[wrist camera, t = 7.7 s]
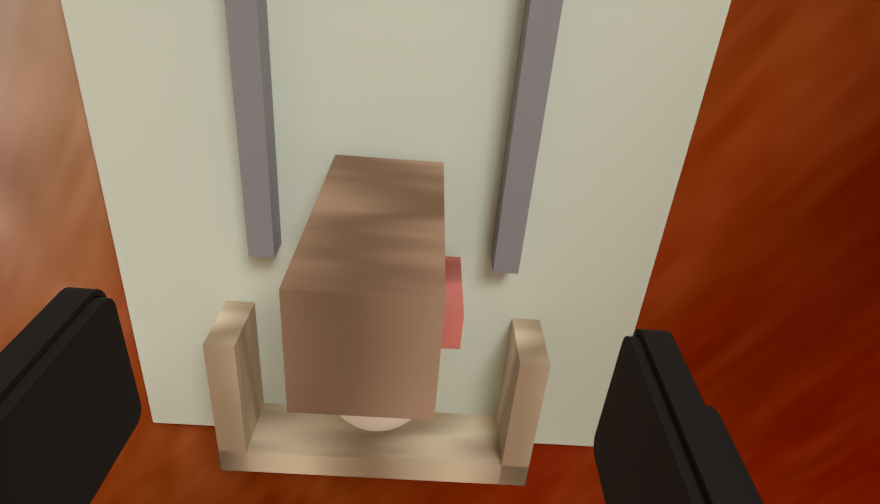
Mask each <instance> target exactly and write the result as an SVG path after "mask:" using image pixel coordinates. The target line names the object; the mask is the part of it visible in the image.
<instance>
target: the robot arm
mask: <svg viewBox="0 0 880 504" xmlns="http://www.w3.org/2000/svg"><path fill="white" fill-rule="evenodd" d="M140 414H141V403H140V399H139V395H138V391H137V387H136V383H135V379H134V375H133V371H132V367H131V364H130V360H129V356H128V352H127V348H126V344H125V340H124V336H123V332H122V328H121V325H120V321H119V317H118V313H117V309H116V305H115V303H114V301H113V300H112V299H110V298H107V297H106V295H105V293H104V292H103V291H102V290H99V289H85V288H72V287H68V288H64V289H63V290H62V291H60V292H59V293H58V294H57V295H56V296H55V297H54V298H53V299H52V300H51V301H50V302H49V303H48V304H47V305H46V306H45V308H44V309H43V310H42V311H41V312H40V313H39V314H38V315H37V316H36V317H35V318H34V319H33V320H32V321H31V322H30V323H29V324H28V325H27V326H26V327H25V328H24V329H23V330H22V331H21V332H20V333H19V334H18V335H17V336H16V337H15V338H14V339H13V340H12V341H11V342H10V343H9V344H8V345H7V346H6V347H5V348H4V349H3V350H2V351H1V353H0V504H90V503H91V501H92V499H93V498H94V496H95V494H96V493H97V491H98V489H99V488H100V486H101V484H102V483H103V481H104V479H105V478H106V476H107V474H108V473H109V471H110V469H111V467H112V466H113V464H114V462H115V461H116V459H117V457H118V456H119V454H120V452H121V451H122V449H123V447H124V446H125V444H126V442H127V441H128V439H129V437H130V436H131V434H132V432H133V430H134V429H135V427H136V425H137V423H138V421H139V418H140ZM594 456H595V461H596V465H597V469H598V473H599V477H600V482H601V486H602V490H603V494H604V498H605V503H606V504H763V502H762V500H761V498H760V496H759V494H758V492H757V490H756V488H755V486H754V484H753V481H752V479H751V477H750V475H749V473H748V471H747V469H746V467H745V465H744V463H743V461H742V459H741V457H740V455H739V453H738V451H737V449H736V447H735V445H734V443H733V441H732V439H731V437H730V435H729V433H728V431H727V429H726V427H725V425H724V423H723V421H722V419H721V417H720V415H719V414H718V412H717V411H716V410H715V409H714V408H713V407H711V406H706V405H705V403H704V401H703V399H702V397H701V395H700V393H699V391H698V389H697V386H696V384H695V382H694V380H693V378H692V376H691V374H690V372H689V370H688V367H687V365H686V363H685V361H684V359H683V357H682V355H681V353H680V351H679V348H678V346H677V344H676V342H675V340H674V338H673V336H672V334H671V333H670V332H668V331H660V330H646V329H637V330H636V331H635V332H634V334H633V336H625V337H624V339H623V341H622V344H621V348H620V351H619V355H618V358H617V361H616V365H615V368H614V372H613V375H612V378H611V382H610V385H609V389H608V392H607V395H606V399H605V402H604V406H603V409H602V412H601V416H600V419H599V423H598V426H597V429H596V433H595V437H594Z"/></svg>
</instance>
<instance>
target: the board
mask: <svg viewBox="0 0 880 504" xmlns="http://www.w3.org/2000/svg"><path fill="white" fill-rule="evenodd" d="M61 3H62V8H63V12H64V17H65V21H66V26H67V31H68V35H69V40H70V44H71V49H72V53H73V58H74V63H75V67H76V72H77V76H78V81H79V85H80V90H81V95H82V99H83V104H84V108H85V113H86V117H87V122H88V127H89V131H90V136H91V140H92V145H93V149H94V154H95V159H96V163H97V168H98V172H99V177H100V181H101V186H102V191H103V195H104V200H105V204H106V209H107V213H108V218H109V223H110V227H111V232H112V236H113V241H114V245H115V250H116V255H117V259H118V264H119V268H120V273H121V277H122V282H123V287H124V291H125V296H126V300H127V305H128V309H129V314H130V319H131V323H132V328H133V332H134V337H135V341H136V346H137V350H138V355H139V360H140V364H141V369H142V373H143V378H144V382H145V387H146V392H147V396H148V401H149V405H150V410H151V414H152V419H153V422H154V423H172V424H191V425H209V426H215V425H214V418H213V412H212V405H211V398H210V392H209V385H208V378H207V372H206V365H205V358H204V352H203V343H204V341H205V339H206V337H207V335H208V334H209V332H210V330H211V328H212V326H213V324H214V322H215V321H216V319H217V317H218V315H219V313H220V311H221V310H222V308H223V306H224V304H225V302H226V301H242V302H255V311H256V322H257V332H258V343H259V354H260V365H261V376H262V387H263V398H264V403H276V404H287V403H286V388H285V373H284V358H283V343H282V328H281V313H280V298H279V288H280V285H281V283H282V281H283V278H284V276H285V274H286V271H287V269H288V266H289V264H290V262H291V259H292V257H293V254H294V252H295V250H296V247H297V245H298V243H299V240H300V238H301V235H302V233H303V231H304V228H305V226H306V223H307V221H308V219H309V216H310V214H311V212H312V209H313V207H314V204H315V202H316V200H317V197H318V195H319V192H320V190H321V188H322V185H323V183H324V180H325V178H326V176H327V173H328V171H329V169H330V166H331V164H332V161H333V159H334V157H335V155H348V156H362V157H376V158H390V159H404V160H418V161H432V162H444V213H445V256H451V257H461V272H462V289H463V306H464V320H463V328H462V337H461V346H460V349H445V348H441V354H440V364H439V374H438V385H437V395H436V405H435V412H437V413H455V414H473V415H491V416H496V413H497V407H498V401H499V395H500V389H501V383H502V377H503V371H504V365H505V359H506V353H507V347H508V341H509V335H510V329H511V323H512V318H516V319H532V320H540V324H541V328H542V332H543V336H544V340H545V344H546V349H547V353H548V357H549V361H550V365H551V366H550V370H549V375H548V380H547V384H546V389H545V394H544V398H543V403H542V407H541V412H540V417H539V421H538V426H537V431H536V435H535V440H534V443H540V444H559V445H577V446H594V437H595V433H596V429H597V426H598V423H599V419H600V416H601V412H602V409H603V406H604V402H605V399H606V395H607V392H608V389H609V385H610V382H611V378H612V375H613V372H614V368H615V365H616V361H617V358H618V355H619V351H620V348H621V344H622V341H623V339H624V337H625V336H633V334H634V330H635V327H636V323H637V320H638V317H639V313H640V310H641V306H642V303H643V300H644V296H645V293H646V289H647V286H648V282H649V279H650V276H651V272H652V269H653V265H654V262H655V259H656V255H657V252H658V248H659V245H660V242H661V238H662V235H663V231H664V228H665V225H666V221H667V218H668V214H669V211H670V207H671V204H672V201H673V197H674V194H675V190H676V187H677V184H678V180H679V177H680V173H681V170H682V167H683V163H684V160H685V156H686V153H687V150H688V146H689V143H690V139H691V136H692V133H693V129H694V126H695V122H696V119H697V115H698V112H699V109H700V105H701V102H702V98H703V95H704V92H705V88H706V85H707V81H708V78H709V75H710V71H711V68H712V64H713V61H714V58H715V54H716V51H717V47H718V44H719V40H720V37H721V34H722V30H723V27H724V23H725V20H726V17H727V13H728V10H729V6H730V3H731V0H61Z"/></svg>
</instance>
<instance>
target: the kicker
mask: <svg viewBox="0 0 880 504" xmlns="http://www.w3.org/2000/svg"><path fill="white" fill-rule="evenodd" d="M279 298H280V313H281V328H282V343H283V358H284V373H285V388H286V403H287V412H292V413H310V414H328V415H346V416H364V417H383V418H401V419H419V420H434V415H435V405H436V395H437V385H438V374H439V364H440V354H441V348H445V349H460V346H461V337H462V328H463V320H464V306H463V289H462V272H461V257H451V256H445V213H444V162H432V161H418V160H404V159H390V158H376V157H362V156H348V155H335V157H334V159H333V161H332V164H331V166H330V169H329V171H328V173H327V176H326V178H325V180H324V183H323V185H322V188H321V190H320V192H319V195H318V197H317V200H316V202H315V204H314V207H313V209H312V212H311V214H310V216H309V219H308V221H307V223H306V226H305V228H304V231H303V233H302V235H301V238H300V240H299V243H298V245H297V247H296V250H295V252H294V254H293V257H292V259H291V262H290V264H289V266H288V269H287V271H286V274H285V276H284V278H283V281H282V283H281V285H280V288H279Z"/></svg>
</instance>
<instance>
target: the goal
mask: <svg viewBox="0 0 880 504" xmlns="http://www.w3.org/2000/svg"><path fill="white" fill-rule="evenodd" d="M203 352H204V358H205V365H206V372H207V378H208V385H209V392H210V398H211V405H212V412H213V418H214V425H215V431H216V438H217V445H218V451H219V458H220V465H221V470H232V471H251V472H271V473H290V474H309V475H329V476H348V477H368V478H387V479H406V480H426V481H445V482H464V483H484V484H503V485H523V486H525V482H526V477H527V472H528V468H529V463H530V459H531V454H532V449H533V445H534V440H535V435H536V431H537V426H538V421H539V417H540V412H541V407H542V403H543V398H544V394H545V389H546V384H547V380H548V375H549V370H550V366H551V365H550V361H549V357H548V353H547V349H546V344H545V340H544V336H543V332H542V328H541V324H540V320H532V319H516V318H512V323H511V329H510V335H509V341H508V347H507V353H506V359H505V365H504V371H503V377H502V383H501V389H500V395H499V401H498V407H497V413H496V416H491V415H473V414H455V413H437V412H435V415H434V420H419V419H411V420H410V421H409V422H407V423H406V424H404V425H402V426H400V427H398V428H395V429H391V430H387V431H368V430H364V429H360V428H358V427H355V426H353V425H351V424H350V423H348V422H347V421H345V420H344V419H343V418H341V417H340V416H339V415H328V414H310V413H292V412H287V404H276V403H264V398H263V387H262V376H261V365H260V354H259V343H258V332H257V322H256V311H255V302H242V301H226V302H225V304H224V306H223V308H222V310H221V311H220V313H219V315H218V317H217V319H216V321H215V322H214V324H213V326H212V328H211V330H210V332H209V334H208V335H207V337H206V339H205V341H204V343H203Z"/></svg>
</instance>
